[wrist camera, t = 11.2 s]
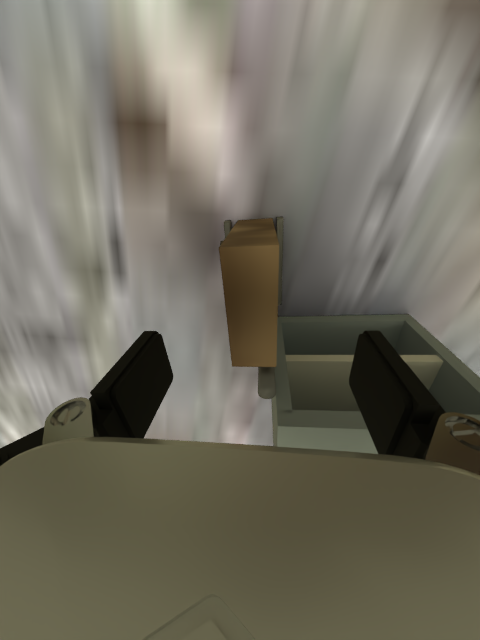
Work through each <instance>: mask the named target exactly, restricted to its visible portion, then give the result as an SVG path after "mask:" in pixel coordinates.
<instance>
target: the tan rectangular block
mask: <svg viewBox="0 0 480 640" xmlns="http://www.w3.org/2000/svg"><path fill="white" fill-rule="evenodd" d="M219 253H220V261H221V270H222V279H223V288H224V297H225V306H226V315H227V324H228V333H229V342H230V351H231V360H232V366H239V367H276V361H277V317H278V273H279V242H278V238H277V235H276V231H275V227H274V223H273V219H272V218H267V219H250V220H238V221H237V222H236V224H235V225H234V227H233V228H232V230H231V231H230V233H229V234H228V235H227V237H226V238H225V240H224V241H221V242H220V247H219Z"/></svg>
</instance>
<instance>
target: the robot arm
mask: <svg viewBox="0 0 480 640" xmlns="http://www.w3.org/2000/svg"><path fill="white" fill-rule="evenodd" d="M172 380H173V373H172V369H171V366H170V362H169V359H168V355H167V352H166V349H165V345H164V342H163V338H162V335H161V334H159V333H158V332H157V331H144V332H143V333H142V334H141V335H140V337H139V338H138V339H137V340H136V341H135V342H134V343H133V345H132V346H131V347H130V348H129V349H128V350H127V351H126V352H125V354H124V355H123V356H122V357H121V358H120V359H119V360H118V362H117V363H116V364H115V365H114V366H113V367H112V368H111V369H110V371H109V372H108V373H107V374H106V375H105V376H104V377H103V378H102V380H101V381H100V382H99V383H98V384H97V385H96V386H95V388H94V389H93V390H92V391H91V392H90V393H91V395H92V396H91V397H90V398H89V400H88V399H87V398H82V397H80V398H74V399H71V400H68V401H66V402H64V403H62V404H61V405H59V406H58V407H56V408H55V409H54V410H53V411H52V412H51V413H50V414H49V416H48V417H47V418H46V421H45V426H44V427H43V428H41V429H39V430H37V431H35V432H33V433H31V434H29V435H27V436H25V437H23V438H21V439H19V440H17V441H15V442H13V443H11V444H9V445H6V446H4V447H2V448H0V640H480V421H479V420H477V419H475V418H473V417H470V416H468V415H465V414H461V413H456V412H447V413H446V412H445V411H444V409H443V408H442V407H441V406H440V404H439V403H438V402H437V401H436V399H435V398H434V397H433V396H432V394H431V393H430V392H429V391H428V389H427V388H426V387H425V386H424V384H423V383H422V382H421V381H420V379H419V378H418V377H417V376H416V374H415V373H414V372H413V371H412V369H411V368H410V367H409V366H408V364H407V363H406V362H404V360H403V359H402V358H401V357H400V355H399V354H398V353H397V352H396V350H395V349H394V348H393V347H392V345H391V344H390V343H389V342H388V340H387V339H386V338H385V337H384V335H383V334H382V333H381V332H380V331H364V332H363V334H359V336H358V340H357V345H356V349H355V354H354V358H353V363H352V367H351V371H350V376H349V385H350V388H351V390H352V393H353V395H354V397H355V400H356V402H357V405H358V407H359V409H360V412H361V414H362V417H363V419H364V421H365V424H366V426H367V429H368V431H369V433H370V436H371V438H372V440H373V443H374V445H375V448H376V450H377V452H378V454H372V453H360V452H349V451H335V450H320V449H306V448H291V447H277V446H261V445H245V444H229V443H213V442H197V441H180V440H162V439H145V438H144V436H145V434H146V432H147V430H148V428H149V426H150V424H151V422H152V420H153V418H154V416H155V414H156V412H157V410H158V408H159V406H160V404H161V402H162V400H163V398H164V397H165V395H166V393H167V391H168V389H169V387H170V385H171V383H172Z"/></svg>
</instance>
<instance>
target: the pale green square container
mask: <svg viewBox="0 0 480 640" xmlns="http://www.w3.org/2000/svg"><path fill="white" fill-rule="evenodd" d="M231 230H232V227H231V220H226V221H224V231H225V238H226V237H227V235H228V234H229V233H230V231H231ZM277 238H278V242H279V273H278V305H281V301H282V258H283V217H277ZM364 331H380V332H381V333H382V334H383V335H384V337H385V338H386V339H387V340H388V342H389V343H390V344H391V345H392V347H393V348H394V349H395V350H396V352H397V353H398V354H399V355H400V357H401V358H402V359H403V360H404V362H406V363H407V364H408V366H409V367H410V368H411V369H412V371H413V372H414V373H415V374H416V376H417V377H418V378H419V379H420V381H421V382H422V383H423V384H424V386H425V387H426V388H427V389H428V391H429V392H430V393H431V394H432V396H433V397H434V398H435V399H436V401H437V402H438V403H439V404H440V406H441V407H442V408H443V409H444V411H445V412H446V413H447V412H456V413H461V414H465V415H468V416H470V417H473V418H475V419H477V420H479V421H480V377H478V376H477V375H476V374H475V373H474V372H473V371H472V370H471V369H470V368H468V367H467V366H466V365H465V364H464V363H463V362H462V361H461V360H460V359H458V358H457V357H456V356H455V355H454V354H453V353H452V352H451V351H449V350H448V349H447V348H446V347H445V346H444V345H443V344H442V343H441V342H439V341H438V340H437V339H436V338H435V337H434V336H433V335H432V334H430V333H429V332H428V331H427V330H426V329H425V328H424V327H423V326H422V325H420V324H419V323H418V322H417V321H416V320H415V319H414V318H413V317H412V316H410V315H409V314H399V315H346V316H294V317H277V361H276V367H259V373H258V394H259V396H260V397H262V398H264V399H270V398H272V421H273V446H277V447H291V448H306V449H320V450H335V451H349V452H360V453H372V454H378V452H377V450H376V448H375V445H374V443H373V440H372V438H371V436H370V433H369V431H368V429H367V426H366V424H365V421H364V419H363V417H362V414H361V412H360V409H359V407H358V405H357V402H356V400H355V397H354V395H353V393H352V390H351V388H350V385H349V376H350V371H351V367H352V363H353V358H354V354H355V349H356V345H357V340H358V336H359V334H363V332H364Z"/></svg>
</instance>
